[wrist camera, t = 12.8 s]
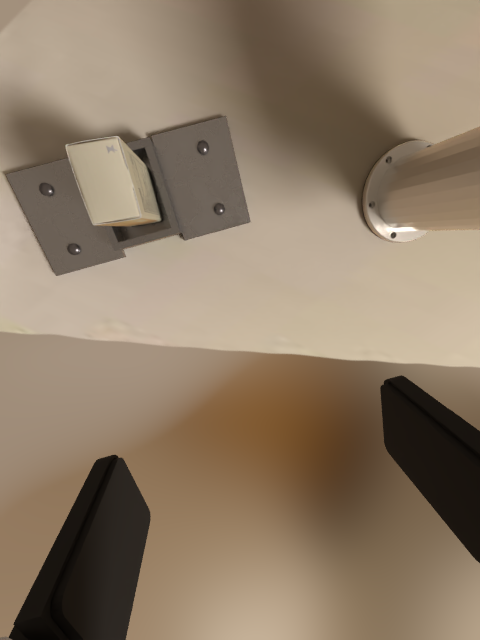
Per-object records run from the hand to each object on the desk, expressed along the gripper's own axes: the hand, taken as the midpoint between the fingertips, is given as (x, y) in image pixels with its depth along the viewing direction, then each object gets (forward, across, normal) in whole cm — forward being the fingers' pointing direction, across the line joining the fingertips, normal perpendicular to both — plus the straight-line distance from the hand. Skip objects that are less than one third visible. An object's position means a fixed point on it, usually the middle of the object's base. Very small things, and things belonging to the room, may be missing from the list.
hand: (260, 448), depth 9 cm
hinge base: (+30, +7, -13) cm, 34 cm away
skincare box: (+30, +7, -13) cm, 33 cm away
